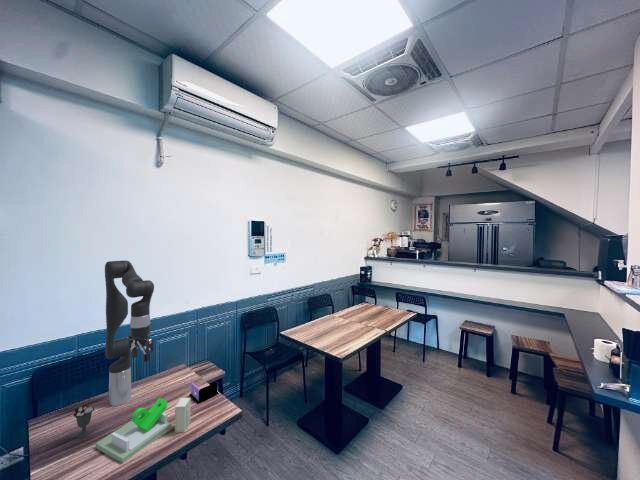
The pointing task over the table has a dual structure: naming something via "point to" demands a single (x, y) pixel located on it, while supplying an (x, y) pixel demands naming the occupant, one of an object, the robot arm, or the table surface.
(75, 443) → the table surface
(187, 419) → the skincare box
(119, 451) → the pale green fixture
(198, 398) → the miniature room corner
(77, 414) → the sundae
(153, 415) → the mechanical part
